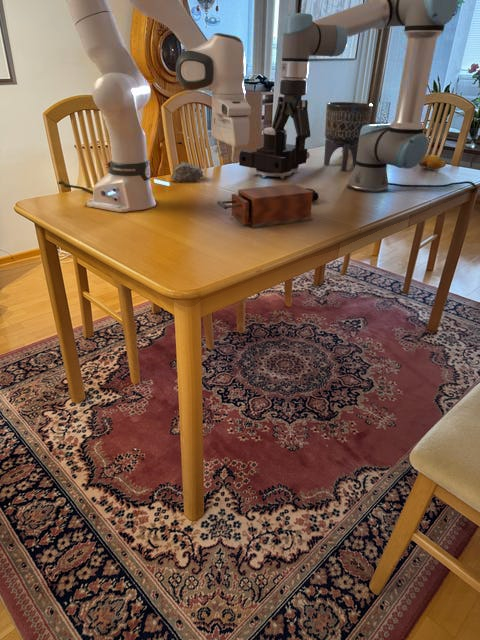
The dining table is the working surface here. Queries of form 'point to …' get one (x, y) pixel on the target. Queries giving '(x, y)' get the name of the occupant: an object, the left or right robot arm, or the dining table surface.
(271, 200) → the cabinet
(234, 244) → the dining table surface
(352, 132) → the planter
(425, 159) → the toy
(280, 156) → the mechanical component
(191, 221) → the dining table surface
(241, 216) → the drawer
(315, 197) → the tape measure
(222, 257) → the dining table surface
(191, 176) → the rock
